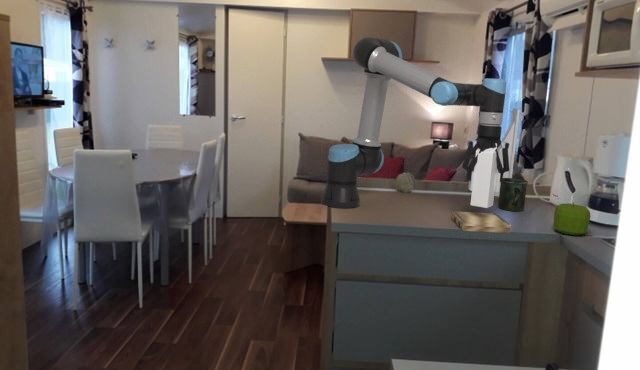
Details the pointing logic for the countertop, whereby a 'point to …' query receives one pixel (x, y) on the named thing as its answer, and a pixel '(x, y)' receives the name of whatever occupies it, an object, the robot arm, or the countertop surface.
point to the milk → (484, 178)
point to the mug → (512, 194)
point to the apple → (571, 219)
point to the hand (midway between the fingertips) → (483, 190)
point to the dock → (480, 222)
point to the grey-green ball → (405, 182)
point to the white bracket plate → (511, 139)
